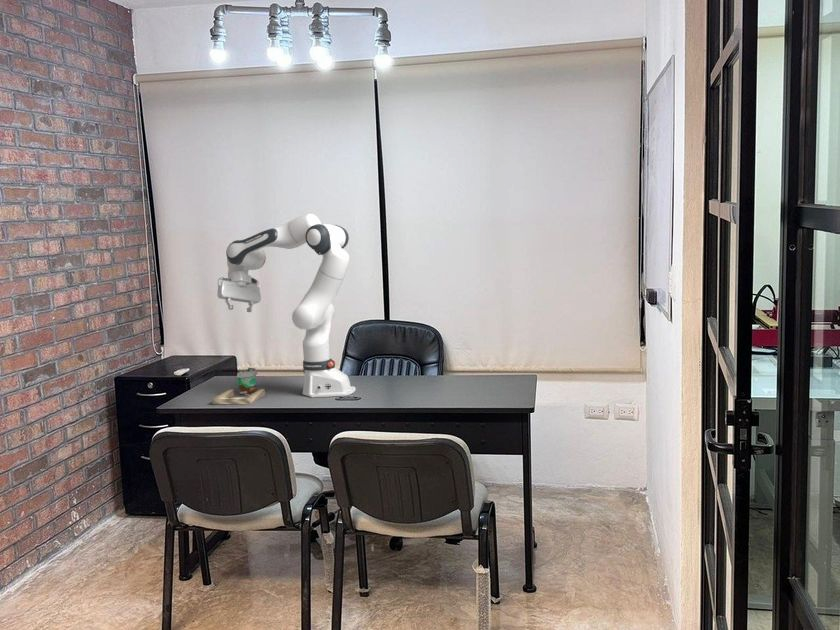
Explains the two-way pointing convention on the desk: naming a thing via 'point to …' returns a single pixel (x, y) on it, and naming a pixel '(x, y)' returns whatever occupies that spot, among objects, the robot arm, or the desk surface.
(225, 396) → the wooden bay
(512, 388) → the desk surface
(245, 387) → the food container
